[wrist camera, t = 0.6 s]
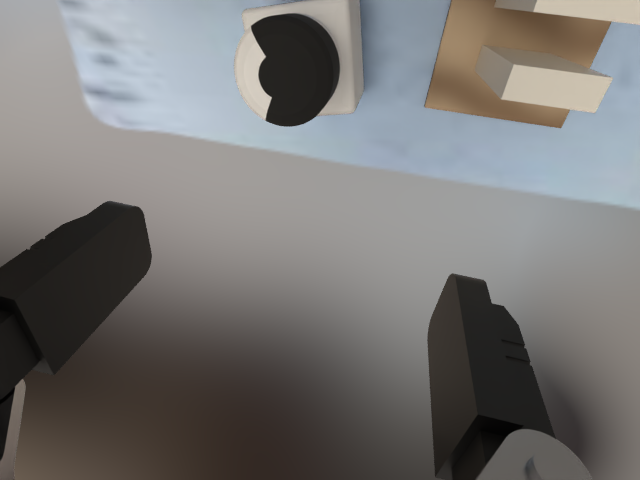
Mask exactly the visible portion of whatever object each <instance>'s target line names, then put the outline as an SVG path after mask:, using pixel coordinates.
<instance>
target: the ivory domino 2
mask: <svg viewBox="0 0 640 480" xmlns="http://www.w3.org/2000/svg"><path fill="white" fill-rule="evenodd" d="M475 72H476V73H477V74H478V75H479V76H480V77H481V78H482V79H483V80H484V81H485V82H486V83H487V85H488V86H489V87H490V88H491V89H492V90H493V91H494V92H495V93H496V94H497V95H498V97H499V98H500V99H502V100H509V101H516V102H523V103H529V104H536V105H543V106H550V107H557V108H564V109H570V110H577V111H584V112H591V113H595V112H596V110H597V108H598V106H599V104H600V102H601V101H602V99H603V97H604V95H605V93H606V91H607V89H608V87H609V85H610V83H611V81H612V79H613V78H612V77H609V76H607V75H604V74H602V73H599V72H597V71H594V70H592V69H589V68H586V67H584V66H581V65H579V64H576V63H574V62H571V61H569V60H566V59H563V58H561V57H558V56H556V55H553V54H550V53H542V52H535V51H527V50H520V49H512V48H504V47H497V46H489V45H482V47H481V50H480V54H479V57H478V60H477V63H476V66H475Z"/></svg>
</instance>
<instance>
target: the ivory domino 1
mask: <svg viewBox="0 0 640 480" xmlns="http://www.w3.org/2000/svg"><path fill="white" fill-rule="evenodd" d="M494 7H496V8H504V9H513V10H521V11H529V12H537V13H546V14H554V15H562V16H570V17H579V18H587V19H596V20H604V21H612V22H621V23H629V24H638V25H640V0H496V2H495V5H494Z"/></svg>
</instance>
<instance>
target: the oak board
mask: <svg viewBox="0 0 640 480" xmlns="http://www.w3.org/2000/svg"><path fill="white" fill-rule="evenodd" d="M495 2H496V0H451V4H450V7H449V11H448V15H447V19H446V23H445V27H444V31H443V35H442V39H441V43H440V47H439V51H438V55H437V59H436V63H435V67H434V71H433V75H432V78H431V82H430V86H429V90H428V94H427V98H426V102H425V108H431V109H438V110H445V111H451V112H458V113H464V114H471V115H478V116H484V117H491V118H497V119H504V120H511V121H517V122H524V123H530V124H537V125H543V126H550V127H557V128H561V127H562V125H563V123H564V121H565V119H566V117H567V115H568V113H569V111H570V109H564V108H557V107H550V106H543V105H536V104H529V103H523V102H516V101H509V100H502V99H500V98H499V97H498V95H497V94H496V93H495V92H494V91H493V90H492V89H491V88H490V87H489V86H488V85H487V83H486V82H485V81H484V80H483V79H482V78H481V77H480V76H479V75H478V74H477V73H476V72H475V66H476V63H477V60H478V57H479V54H480V50H481V47H482V45H489V46H497V47H504V48H512V49H520V50H527V51H535V52H542V53H550V54H553V55H556V56H558V57H561V58H563V59H566V60H569V61H571V62H574V63H576V64H579V65H581V66H584V67H586V68H590V66H591V64H592V62H593V60H594V58H595V56H596V54H597V51H598V49H599V47H600V45H601V43H602V41H603V39H604V37H605V35H606V32H607V30H608V28H609V26H610V24H611V22H612V21H604V20H596V19H587V18H579V17H570V16H562V15H554V14H546V13H537V12H529V11H521V10H513V9H504V8H496V7H494V5H495Z"/></svg>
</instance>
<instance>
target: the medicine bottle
mask: <svg viewBox="0 0 640 480" xmlns="http://www.w3.org/2000/svg"><path fill="white" fill-rule="evenodd" d="M242 20H243V25H244V30H245V33H244V35H243V36H242V37H241V39H240V42H239V44H238V46H237V49H236V54H235V60H234V72H235V78H236V83H237V86H238V89H239V91H240V93H241V96H242V97H243V99H244V101H245V102H246V104H247V105H248V106H249V108H250V109H251V110H252V111H253V112H254V113H255V114H257V115H258V116H259V117H261V118H262V119H264V120H265V121H267V122H270V123H272V124H275V125H279V126H298V125H301V124H304V123H306V122H308V121H310V120H312V119H313V118H314V117H316V116H323V115H337V114H351V113H353V112H354V111H355V110H356V107H357V105H358V103H359V101H360V99H361V96H362V94H363V92H364V77H363V57H362V37H361V17H360V0H306V1H299V2H292V3H285V4H278V5H271V6H264V7H257V8H250V9H245V10H244V11H243V12H242Z"/></svg>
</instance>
